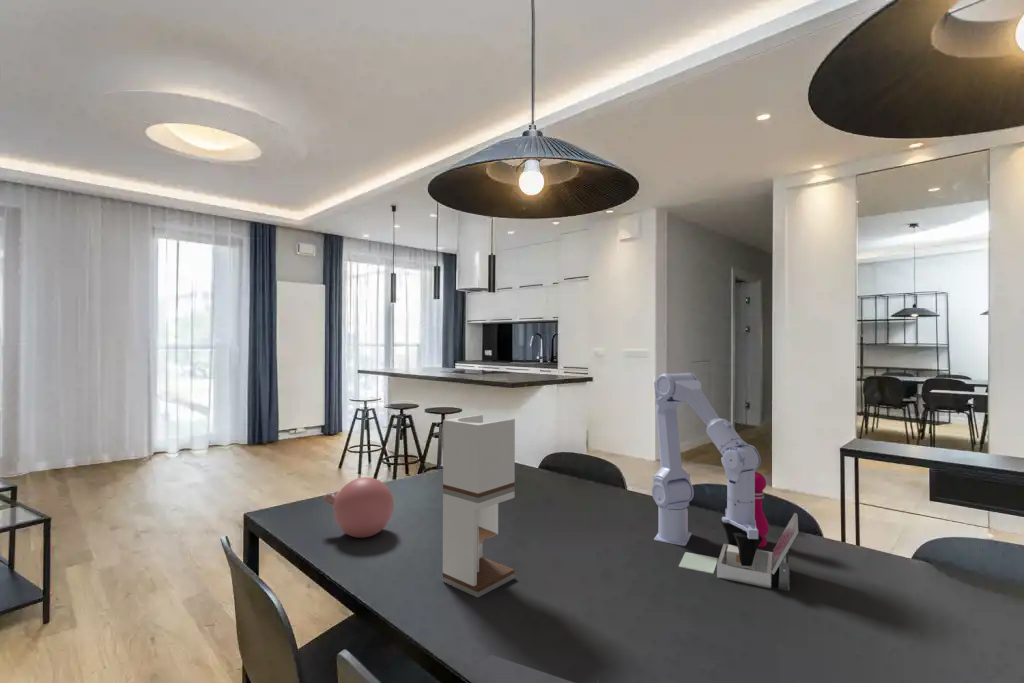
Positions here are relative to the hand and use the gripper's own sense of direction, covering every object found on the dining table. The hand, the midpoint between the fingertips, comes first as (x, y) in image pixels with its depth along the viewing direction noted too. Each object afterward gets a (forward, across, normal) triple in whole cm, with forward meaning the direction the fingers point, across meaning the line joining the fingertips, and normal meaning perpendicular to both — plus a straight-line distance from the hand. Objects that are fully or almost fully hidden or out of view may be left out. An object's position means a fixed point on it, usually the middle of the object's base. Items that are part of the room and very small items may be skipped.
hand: (740, 559), depth 116 cm
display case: (+3, +9, -59) cm, 60 cm away
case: (+3, 0, +1) cm, 3 cm away
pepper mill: (+3, -17, +9) cm, 20 cm away
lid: (-1, +3, +6) cm, 6 cm away
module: (+2, 0, 0) cm, 2 cm away
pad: (+3, -3, -8) cm, 9 cm away
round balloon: (+3, -15, -95) cm, 96 cm away
